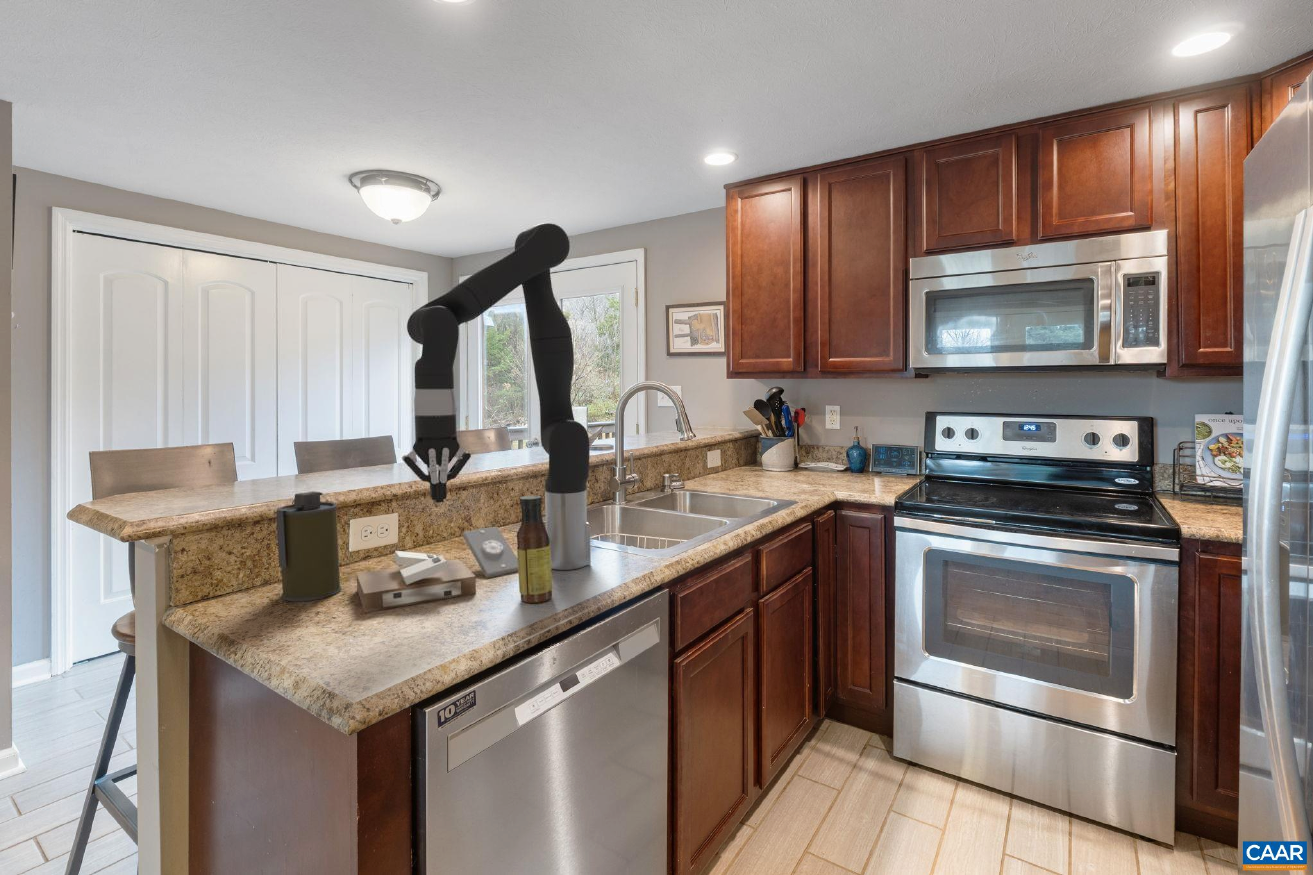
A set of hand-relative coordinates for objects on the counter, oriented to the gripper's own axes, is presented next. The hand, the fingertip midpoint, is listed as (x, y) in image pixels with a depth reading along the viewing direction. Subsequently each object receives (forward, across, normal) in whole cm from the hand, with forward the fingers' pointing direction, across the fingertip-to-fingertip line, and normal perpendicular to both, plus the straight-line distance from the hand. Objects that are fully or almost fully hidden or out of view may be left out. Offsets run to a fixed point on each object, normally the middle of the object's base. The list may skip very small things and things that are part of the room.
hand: (438, 501), depth 122 cm
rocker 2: (+13, +3, 0) cm, 13 cm away
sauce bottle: (+19, -15, +12) cm, 27 cm away
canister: (+19, +22, -14) cm, 32 cm away
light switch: (+19, -14, -13) cm, 26 cm away
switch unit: (+18, +4, -4) cm, 19 cm away
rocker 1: (+13, +3, -8) cm, 15 cm away
